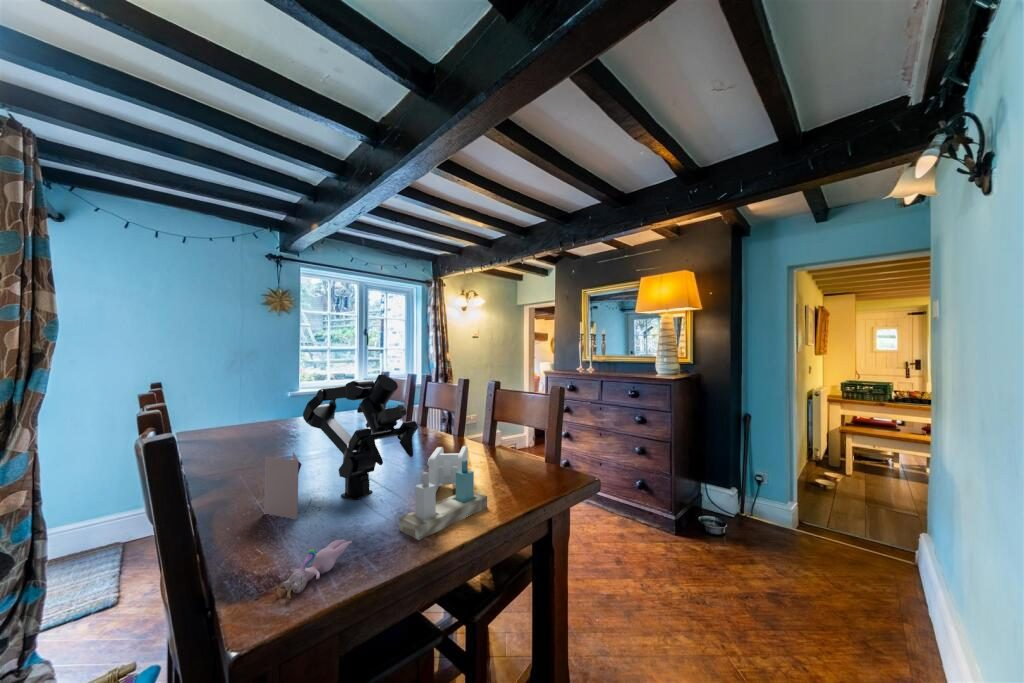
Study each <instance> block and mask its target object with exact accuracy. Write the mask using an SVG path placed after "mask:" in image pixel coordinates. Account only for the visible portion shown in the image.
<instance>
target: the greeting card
mask: <svg viewBox="0 0 1024 683" xmlns="http://www.w3.org/2000/svg"><path fill="white" fill-rule="evenodd" d="M264 460H265V461H264V502H263V503H264V504H263V508H264V510H263V514H264V513H266V514H271V515H276V516H275V517H277V516H281V517H280V518H283V517H286V518H285V519H288V518H292V519H291V520H294V519H297V521H298V517H299V516H298V514H299V513H298V512H299V474H300V470H301V468H302V463H301V462H300V460H299V459H298V457H297V455H296V454H295V452H294V451H292V459H289V458H281V457H273V456H272V457H271V456H270V457H269V456H265V458H264ZM271 515H270V516H271Z"/></svg>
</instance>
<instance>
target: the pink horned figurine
mask: <svg viewBox="0 0 1024 683" xmlns="http://www.w3.org/2000/svg"><path fill="white" fill-rule="evenodd" d="M347 540H348V539H336V540H333V541H332V542H331V543H329V544H328V545H327V546H326V547H324V548H322V549H320V550H319V551H318V552H317V553H316V550H315V549H309V550H308V551H307V552H306V553H307V556H306V558H305V559H304V561H303V562H302V565H301V567H300V568H296V569H293V571H292V574H291V575H290V576H289V578H288V579H287V580H285V581H283V582H282V583H281V584H280V586H277V587H276V588H277V589H276V595H278V596H281V594H282V593H281V589H282V587H284V589H286V591H287V593H286V598H288V600H289V599H291V596H292V595H291V593H292V592H293V593H294V594H299V593H301V592H303V590H304V589H305V588H306V586H307V583H308V581H310V580H312V579H313V578H314V576H316V577H315V580H319V579H320V574H321V575H322V574H323V575H324V573H325V574H326V573H327V572H329V571H330V570H332V569H333V567H334V565H335V563H336V561H337V559H338V557H340V556H341V554H343V552H344V551H345V550H346V549H347V548H348V546H350V544H352V543H353V541H352V540H350V541H349V540H348V541H347ZM309 565H310V566H311V567H307V566H309ZM291 591H292V592H291ZM276 595H275V596H276Z"/></svg>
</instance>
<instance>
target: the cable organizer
mask: <svg viewBox="0 0 1024 683" xmlns="http://www.w3.org/2000/svg"><path fill="white" fill-rule="evenodd" d="M468 451H469V450H468V445H463V446H461V449H460V451H459V452H458V453H456V452H455V453H445V452H444V447H443V446H437V447H436V449H435V450H434V451H433V452H432V453H431V455H430V456H429V457H428V460H427V466H428V472H429V483H431V484H433V485H436V493H437V491H438V489H439V488H440V487H442V489H444V485H452V487H456V472H458V471H461V470H462V460H468V461H469V459H468V457H469V456H468Z"/></svg>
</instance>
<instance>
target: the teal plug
mask: <svg viewBox="0 0 1024 683" xmlns="http://www.w3.org/2000/svg"><path fill="white" fill-rule="evenodd" d="M468 461H469V459H468V460H462V470H461V471H458V472H456V486H455V495H456V501H459V502H462V503H467V502H469V501H471V500H474V492H475V490H474V485H475V483H474V482H475V481H474V479H475V478H474V477H475V476H474V475H475V474H474V471H472V470H468V469H469V468H468V467H469V466H468Z"/></svg>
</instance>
